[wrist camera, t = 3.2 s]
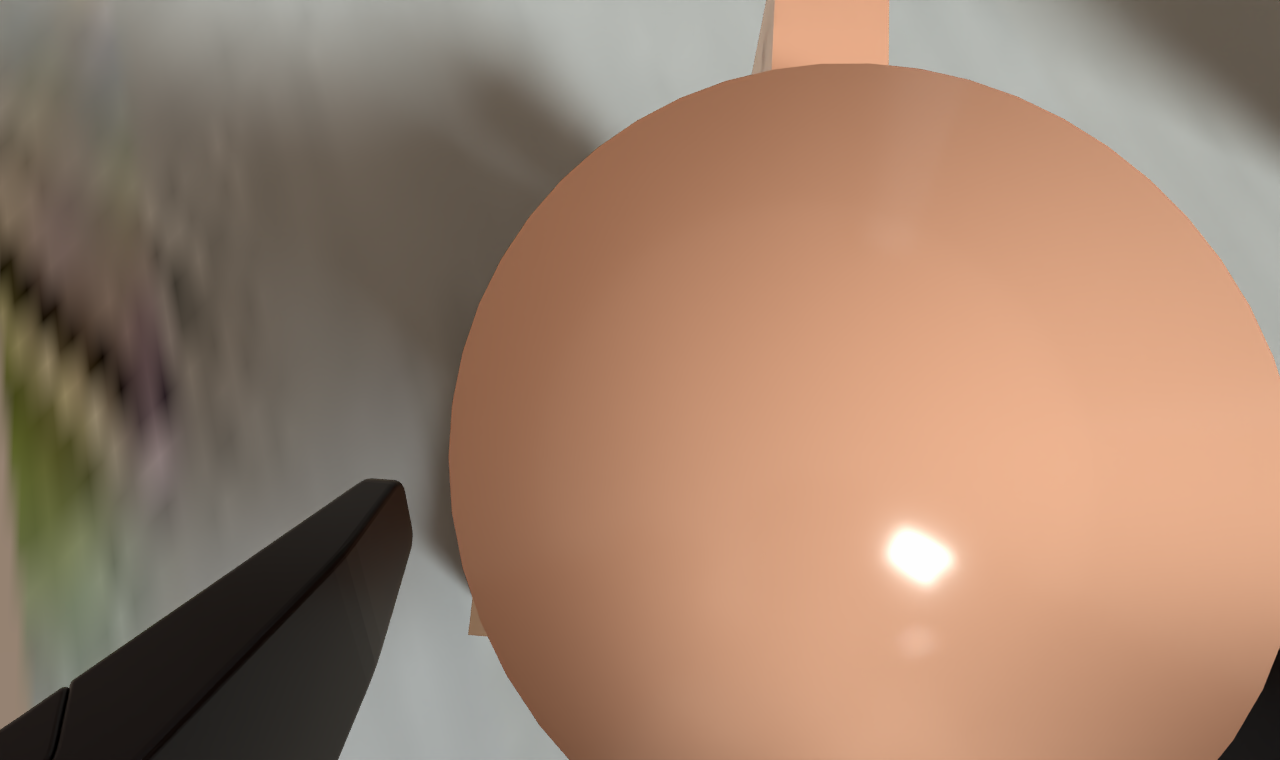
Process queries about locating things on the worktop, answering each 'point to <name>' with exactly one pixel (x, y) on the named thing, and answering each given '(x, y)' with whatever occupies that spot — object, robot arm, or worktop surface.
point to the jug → (868, 433)
